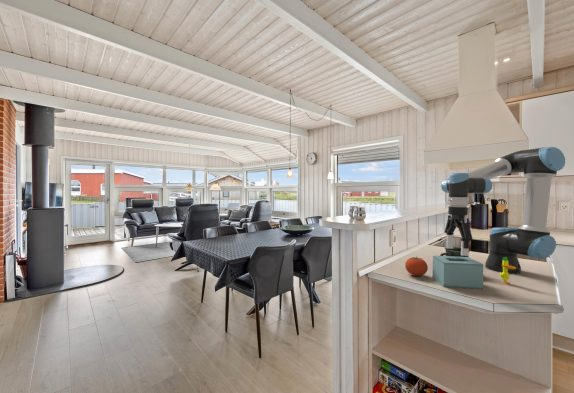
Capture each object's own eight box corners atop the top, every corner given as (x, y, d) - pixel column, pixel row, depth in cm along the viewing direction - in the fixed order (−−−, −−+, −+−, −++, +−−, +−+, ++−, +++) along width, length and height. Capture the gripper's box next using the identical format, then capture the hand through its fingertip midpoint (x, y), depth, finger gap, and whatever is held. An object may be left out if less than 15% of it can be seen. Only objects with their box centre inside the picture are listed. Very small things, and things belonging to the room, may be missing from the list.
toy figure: (517, 285, 116) (518, 259, 116) (512, 286, 115) (513, 260, 115) (501, 280, 123) (501, 256, 122) (496, 281, 121) (496, 256, 121)
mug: (474, 275, 131) (475, 251, 130) (446, 275, 130) (447, 251, 130) (459, 268, 142) (460, 246, 141) (433, 268, 141) (434, 246, 141)
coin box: (467, 279, 124) (468, 257, 124) (482, 289, 112) (483, 264, 112) (432, 277, 126) (432, 255, 126) (443, 286, 115) (444, 262, 114)
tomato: (404, 271, 136) (404, 252, 136) (425, 273, 133) (425, 254, 132) (406, 277, 126) (406, 257, 126) (429, 280, 123) (429, 259, 123)
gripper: (437, 204, 131) (436, 245, 132) (463, 208, 106) (462, 258, 107) (453, 204, 130) (452, 246, 131) (483, 208, 105) (481, 259, 106)
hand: (456, 251), depth 119 cm, fingers open, 13 cm apart
